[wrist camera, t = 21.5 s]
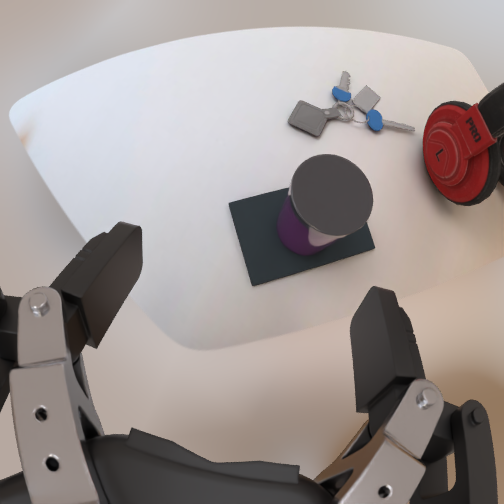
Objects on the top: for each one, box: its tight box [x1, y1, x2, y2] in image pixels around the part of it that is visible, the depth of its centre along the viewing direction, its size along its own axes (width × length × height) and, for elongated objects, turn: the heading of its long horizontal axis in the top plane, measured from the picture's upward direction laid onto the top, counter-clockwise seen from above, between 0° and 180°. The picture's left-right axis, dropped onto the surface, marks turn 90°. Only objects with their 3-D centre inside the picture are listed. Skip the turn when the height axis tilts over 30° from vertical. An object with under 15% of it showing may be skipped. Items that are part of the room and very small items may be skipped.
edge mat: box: [229, 188, 375, 286], centre depth 24 cm, size 11×7×1 cm, turn 106°
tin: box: [276, 154, 373, 255], centre depth 20 cm, size 5×5×8 cm
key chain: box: [288, 71, 415, 136], centre depth 26 cm, size 14×8×1 cm, turn 101°
